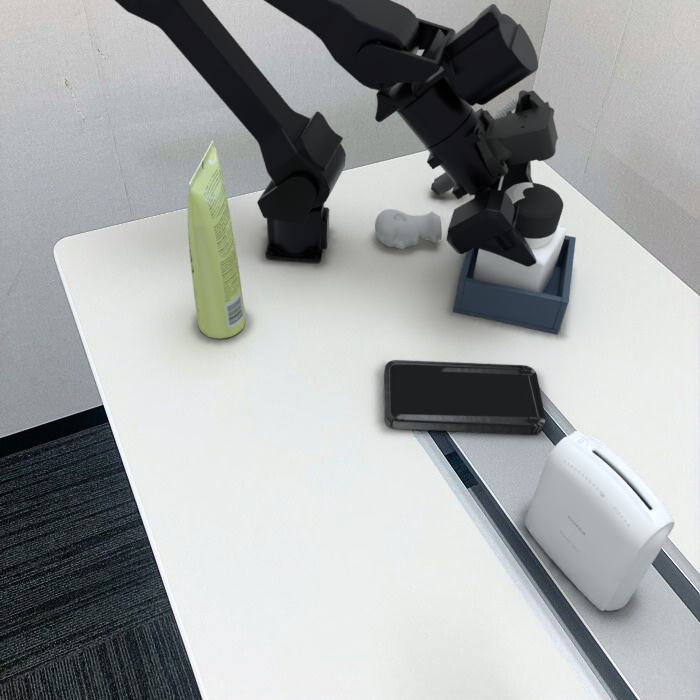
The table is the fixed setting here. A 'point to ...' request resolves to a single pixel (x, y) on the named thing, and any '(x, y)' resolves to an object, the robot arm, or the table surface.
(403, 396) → the phone
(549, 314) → the bin
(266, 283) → the table surface
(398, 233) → the pale two-lobed sculpture
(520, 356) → the table surface
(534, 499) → the photo printer
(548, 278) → the medicine bottle
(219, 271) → the tube
